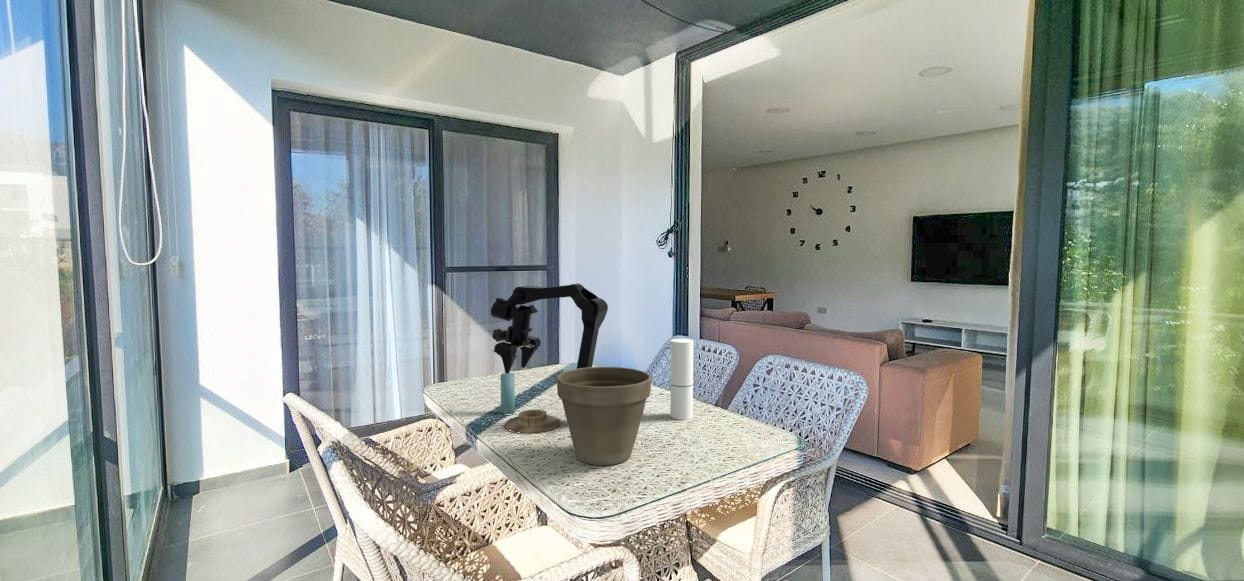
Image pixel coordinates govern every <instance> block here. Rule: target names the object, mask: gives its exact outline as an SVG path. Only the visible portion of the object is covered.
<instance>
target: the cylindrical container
mask: <svg viewBox="0 0 1244 581" xmlns="http://www.w3.org/2000/svg"><path fill="white" fill-rule="evenodd" d="M693 404H694V340H693V339H689V338H673V339H671V340H670V416H669V417H670V418H671V417H672V418H671V419H673V418H674V419H673V420H676V419H678V421H688V419H689V420H691V419H693V411H694V408H693V407H694V406H693Z"/></svg>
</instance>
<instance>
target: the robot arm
mask: <svg viewBox="0 0 1244 581" xmlns="http://www.w3.org/2000/svg"><path fill="white" fill-rule="evenodd" d="M560 298H570V299H572V301H573V302H574V304H575V306H576V307H577V308H578V309H579V310H581V321H582V326H583V330H582V336H581V342H580V347H579V352H578V358H577V363H576V364H577V366H576V369H579V368H587V367H593V364H594V358H595V354H596V347H597V342H598V336H599V331H600V328H601V326H602V324H603V322H604V320H605V318H606V316H607V313H608V310H609V309H608V308H609V306H608V303H607V302H606V300H604V299H603V298H600V297H598V296H597V295H596V294H595V293H593V292H592V291H591V290H589V289H587V288H586V287H584V285H582V284H581V283H572V284H571V283H570V284H567V285H566V284H565V285H557V286H546V287H543V286H538V285H537V286H536V285H523V286H522V285H521V286H516V287H515V288H514V290H513V291H512V293H511V296H510V297H508V298H507V299H506V298H503V297H496V298H495V301H494V302H493V304H492V306H491V308H490V315H491V317H492V318H494V319H498V320H502V321H507V322H510V321H511V320H512V321H511V322H512V323H511V325H509V326H508V327H507V329H505V330H502V329H501V328H498V329H497V328H496V329H493V332H492V336H491V337H492V338H493V340H495V342H496V344H495V345H494V346H493V348H494V350H493V352H494V353H496V355H499V357H501V361H502V364H503V368H504V373H507V374H509V373H511V370H512V367H513V365H514V362H515V360H516V357H517V354H516V353H517V352H518V349H520V350H521V359H520V360H521V364H520V366H521V368H523V369H524V368H526V366H527V365H528V363H529V361H530V360H531V359H532V357H533V355H534V354H535V353H536V351H537V350H538V348H540V347H541V339H540V337H536V336H533V335H530V334H529V333H531V332H532V330H533V328H532V327H530V326H531V317H532V315H533V314H537V313H538V312H539V310H538V309H537V308H536V307H535V306H534V304H532V303H536V302H539V301H541V300H546V299H547V300H548V299H550V300H551V299H560ZM526 304H530V305H529V306H528V305H526ZM518 305H520V306H518Z"/></svg>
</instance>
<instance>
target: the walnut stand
mask: <svg viewBox="0 0 1244 581" xmlns="http://www.w3.org/2000/svg"><path fill="white" fill-rule="evenodd" d="M560 426H561V420H560V419H559V418H558V417H556V416H553V415H550V414H549V415H548V414H547V411H546V410H543V409H537V408H536V409H527V410H526V409H525V410H522V411H519V413H518V416H515V417H512V418H510V419H508V420H507V421H506V422H504V427H506V428H507V429H508V430H507V429H506V428H505V429H506V430H507V431H509V430H511V431H514V432H520V433H519V434H521V433H536V434H541V432H544V433H547V431H548V432H552V431H554V430H556V429H558V428H559V427H560ZM557 427H558V428H557ZM511 431H510V432H511ZM514 432H513V433H514Z"/></svg>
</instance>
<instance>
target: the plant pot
mask: <svg viewBox="0 0 1244 581" xmlns="http://www.w3.org/2000/svg"><path fill="white" fill-rule="evenodd" d="M556 390H557V396H558V397H559V398H560V399H561V403H562V408H563V411H564V414H565V419H566V422H567V426H568V429H569V434H570V437H571V441H572V445H573V448H574V453H575V456H576V458H577V459H578V460H579V461H581V462H583V463H586V464H589V465H593V466H594V465H595V466H597V465H598V466H609V465H610V466H611V465H612V466H613V465H618V464H621V463H624V462H627V461H628V460H629V459H630V458H631V456H632V454H633V450H634V447H635V443H636V440H637V436H638V433H639V429H640V425H641V421H642V418H643V414H644V410H645V407H646V401H647V399H648V398H649V397H650V395H651V391H652V375H651V374H649V373H648V372H645V371H643V370H639V369H635V368H629V367H622V366H621V367H620V366H592V367H587V368H579V369H577V368H574V369H569V370H566V371H563V372H561V373H559V374H558V375H557V376H556Z"/></svg>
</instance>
